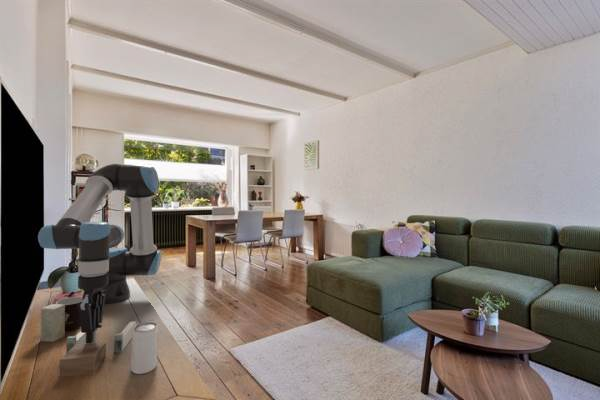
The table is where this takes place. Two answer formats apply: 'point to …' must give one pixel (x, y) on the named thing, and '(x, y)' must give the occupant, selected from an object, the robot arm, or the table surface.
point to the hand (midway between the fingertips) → (91, 351)
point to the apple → (67, 296)
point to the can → (144, 348)
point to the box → (52, 322)
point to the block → (82, 359)
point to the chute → (119, 338)
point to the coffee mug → (71, 312)
